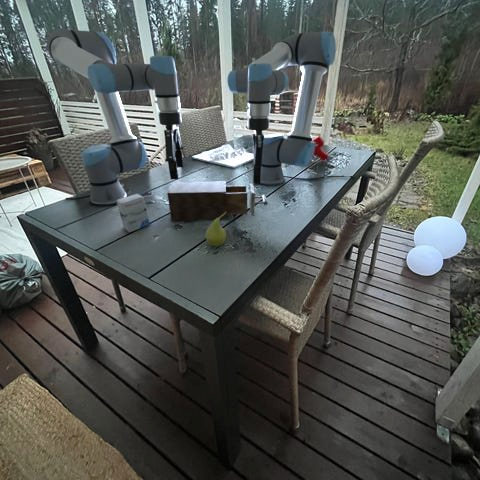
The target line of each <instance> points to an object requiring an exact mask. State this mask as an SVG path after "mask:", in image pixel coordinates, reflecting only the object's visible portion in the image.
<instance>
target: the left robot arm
mask: <svg viewBox="0 0 480 480" xmlns="http://www.w3.org/2000/svg"><path fill="white" fill-rule="evenodd" d="M46 50H47V52H48V55H49V57H50V58H51V60H52V61H53V62H54V63H56V64H57V65H58V66H60V67H62V68H64V69H67V70H70V69H71V70H72V71H74V72H76V73H78V74H79V75H81V76H83V77H84V78H86V79H88V81H89V84H90V86H91V87H92V89H93V90H94V91H95V94H96V97H97V99H98V102H99V105H100V108H101V111H102V113H103V117H104V119H105V122H106V125H107V128H108V131H109V134H110V136H111V139H110V142H109V144H110V145H109V144H105V143H103V144H96V145H92V146H89V147H87V148H86V149H84V150H83V151H82V152H81V160H82V165H83V166H84V169H85V172H86V176H87V178H88V181H89V185H90V194H88V195H83V196H78V197H65V201H76V200H77V201H78V200H82V199H87V198H89V199H90V203H91V204H92V205H93V206H97V207H108V206H114V205H117V201H116V200H118V199H122V198H125V197H128V195H127V192H126V190H125V189H124V183H120V180H119V177H118V175H120V174H124V173H128V172H131V171H136V170H139V169H142V168H143V167H145V166H146V164H147V159H148V154H147V150H146V147H145V145H144V144H143V142H141V141H138V139H137V137H136V136H135V135H133V134H132V131H131V128H130V124H129V121H128V119H127V115H126V112H125V109H124V106H123V103H122V100H121V97H120V94H119V93H126V92H138V91H139V92H140V91H154V94H155V95H154V97H155V100H154V104H155V105H156V108H157V111H158V113H157V115H158V122H159V124H160V125H162V126H165V129H164V130H163V133H164V134H163V135H164V146H165V148H164V149H165V159H164V162H166V163H167V165H168V172H169V179H170V180H179V178H180V177H179V173H178V168H184V167H185V166H184V165H185V164H184V157H183V150H184V149H185V148H184V146H183V144H182V138H181V133H180V130H179V125H181V124H182V123H183V120H182V113H181V111H180V110H181V102H180V101H181V100H180V95H179V94H180V93H179V86H178V75H177V73H178V71H177V69H176V63H175V62H176V61H175V59H174V57H173V56H171V55H152V56H150V57H149V63H117V53H116V49H115V46H114V45H113V42H112V41H111V40H110V38H109V37H108V36H107V35H106V34H104V33H103V32H100V31H94V30H78V29H77V30H76V29H67V28H66V29H65V28H62V29H57V30H55V31H53V32H51V34H50V35H49V36H48V37H47V39H46Z"/></svg>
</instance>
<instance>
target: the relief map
mask: <svg viewBox="0 0 480 480" xmlns="http://www.w3.org/2000/svg"><path fill="white" fill-rule="evenodd" d="M192 159H194V160H197V161H202V162H206V163H211V164H216V165H218V166H223V167H228V168H232V169H235V168H238V167H241V166H243V165H245V164H248V163H250V162H252V161H253V153H250V152H248V150H246V148H244V147H241V148H239V149H238V150H237V149H235V148H233V147H232V145H230V144H226V143H224V144H223V145H221V146H219V147H216V148H214V149H210V150H208V151H202V152H201V153H199V154H196V155H193V156H192Z"/></svg>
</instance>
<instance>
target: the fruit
mask: <svg viewBox="0 0 480 480" xmlns="http://www.w3.org/2000/svg"><path fill="white" fill-rule="evenodd" d="M225 214H226V211H225V213H224V214H223V215H225ZM223 215H221V216H220V217H219V218H216V219H215V220H212V222H211V224H210V226H209V227H208V228H207V229H206V231H205V234H204V235H205V240H206V242H207V243H208V245H209V246H211V247H216V248H217V247H220V246H222V245H224V243H225V241H226V239H227V232H226V230H225V229H224V228H223V227H222V226H221V222H220V221H221V220H220V218H221V217H222V216H223Z"/></svg>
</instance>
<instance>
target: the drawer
mask: <svg viewBox="0 0 480 480" xmlns="http://www.w3.org/2000/svg"><path fill="white" fill-rule="evenodd" d="M267 198H268V197H267V195H266V194H262V195H259V196H258V195H257V196H256V192H255V188H254V183H249V211H250V216H251V217H255V206H256V205H264V206H268V204H269V202H268V199H267ZM255 199H261V200H262V201H256V200H255ZM226 211H227V216H229V215H248V192H247V185H245V184H244V185H242V184H241V185H226Z"/></svg>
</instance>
